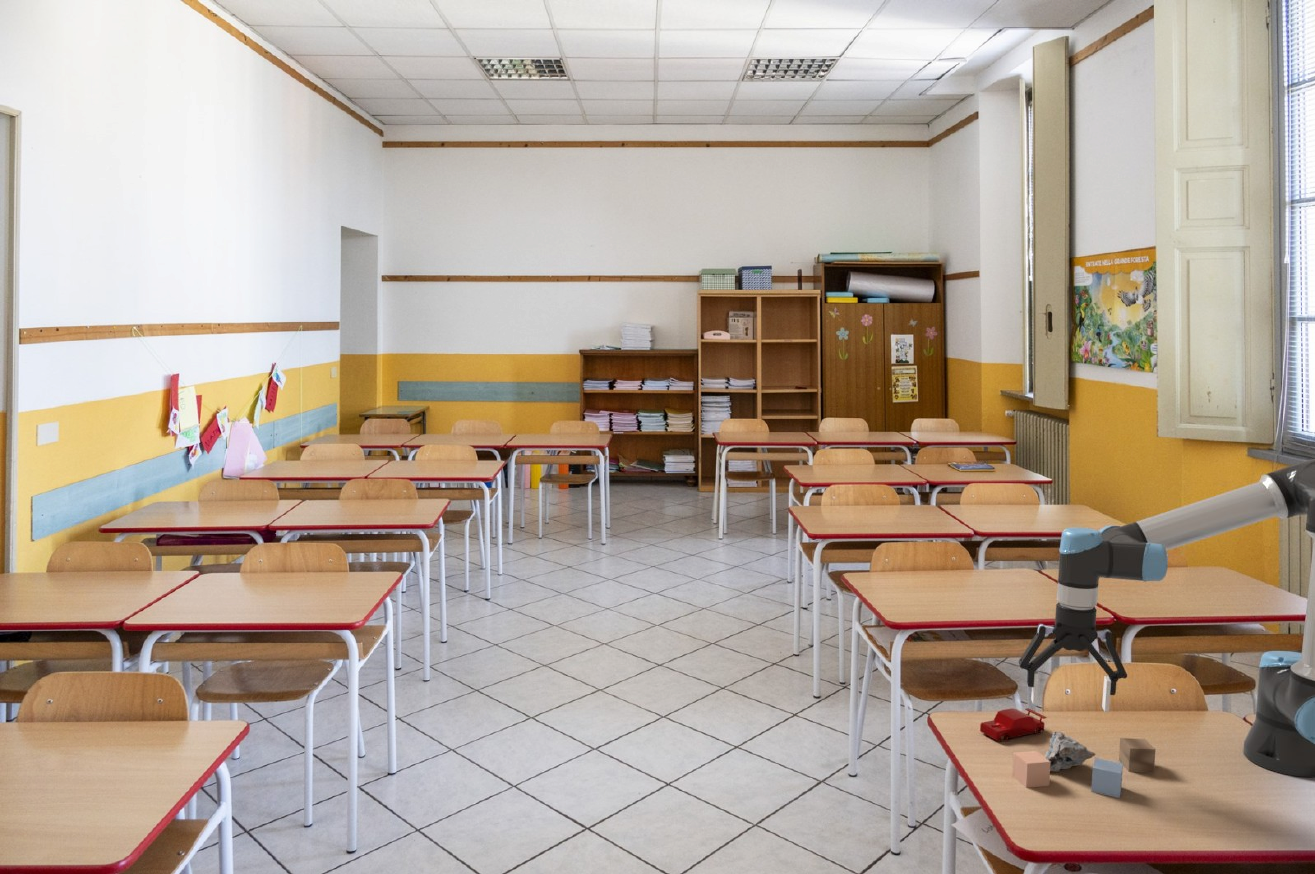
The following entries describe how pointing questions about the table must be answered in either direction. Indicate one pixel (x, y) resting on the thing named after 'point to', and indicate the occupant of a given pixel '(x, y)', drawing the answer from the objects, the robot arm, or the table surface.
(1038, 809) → the table surface
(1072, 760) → the mineral specimen
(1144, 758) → the walnut cube
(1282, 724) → the robot arm
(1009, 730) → the toy car
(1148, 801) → the table surface
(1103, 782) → the slate-blue cube
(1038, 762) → the salmon-pink cube
